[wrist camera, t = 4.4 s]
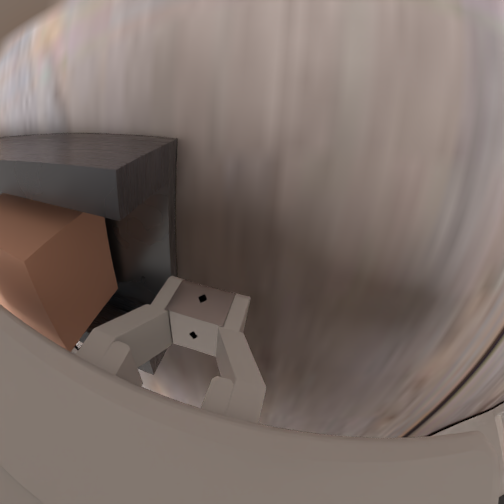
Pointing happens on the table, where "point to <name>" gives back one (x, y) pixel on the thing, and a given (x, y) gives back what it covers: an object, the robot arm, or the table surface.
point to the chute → (107, 202)
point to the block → (54, 267)
